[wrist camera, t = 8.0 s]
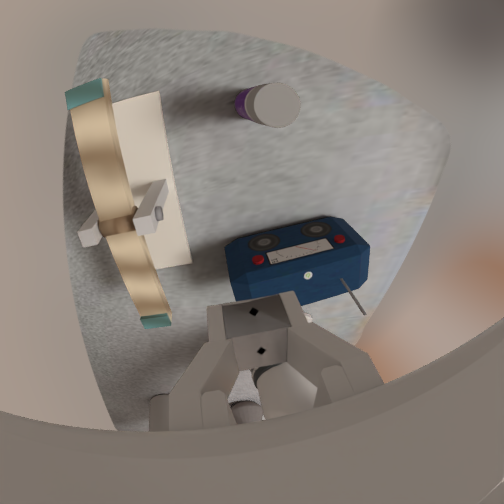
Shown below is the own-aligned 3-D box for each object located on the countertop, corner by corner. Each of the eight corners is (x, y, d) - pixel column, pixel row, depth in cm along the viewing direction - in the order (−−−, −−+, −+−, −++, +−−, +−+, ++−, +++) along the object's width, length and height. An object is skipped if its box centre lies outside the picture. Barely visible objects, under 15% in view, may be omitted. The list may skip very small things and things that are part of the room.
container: (228, 111, 35) (243, 116, 22) (243, 83, 33) (265, 72, 20) (258, 124, 36) (288, 137, 24) (272, 97, 34) (310, 95, 22)
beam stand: (192, 259, 46) (191, 319, 34) (133, 269, 45) (116, 329, 33) (159, 91, 31) (134, 85, 19) (90, 111, 30) (39, 121, 18)
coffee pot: (259, 411, 81) (268, 448, 69) (226, 414, 79) (231, 452, 67) (269, 380, 71) (281, 425, 58) (228, 383, 68) (236, 431, 56)
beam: (173, 310, 39) (172, 325, 36) (146, 314, 38) (143, 329, 36) (111, 78, 21) (101, 77, 18) (75, 91, 20) (63, 92, 18)
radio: (339, 208, 46) (405, 273, 29) (339, 249, 51) (394, 321, 34) (221, 235, 45) (236, 324, 28) (233, 277, 50) (251, 367, 33)
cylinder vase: (198, 404, 73) (205, 477, 52) (169, 413, 75) (172, 481, 54) (170, 389, 66) (172, 470, 45) (141, 399, 68) (139, 473, 47)
